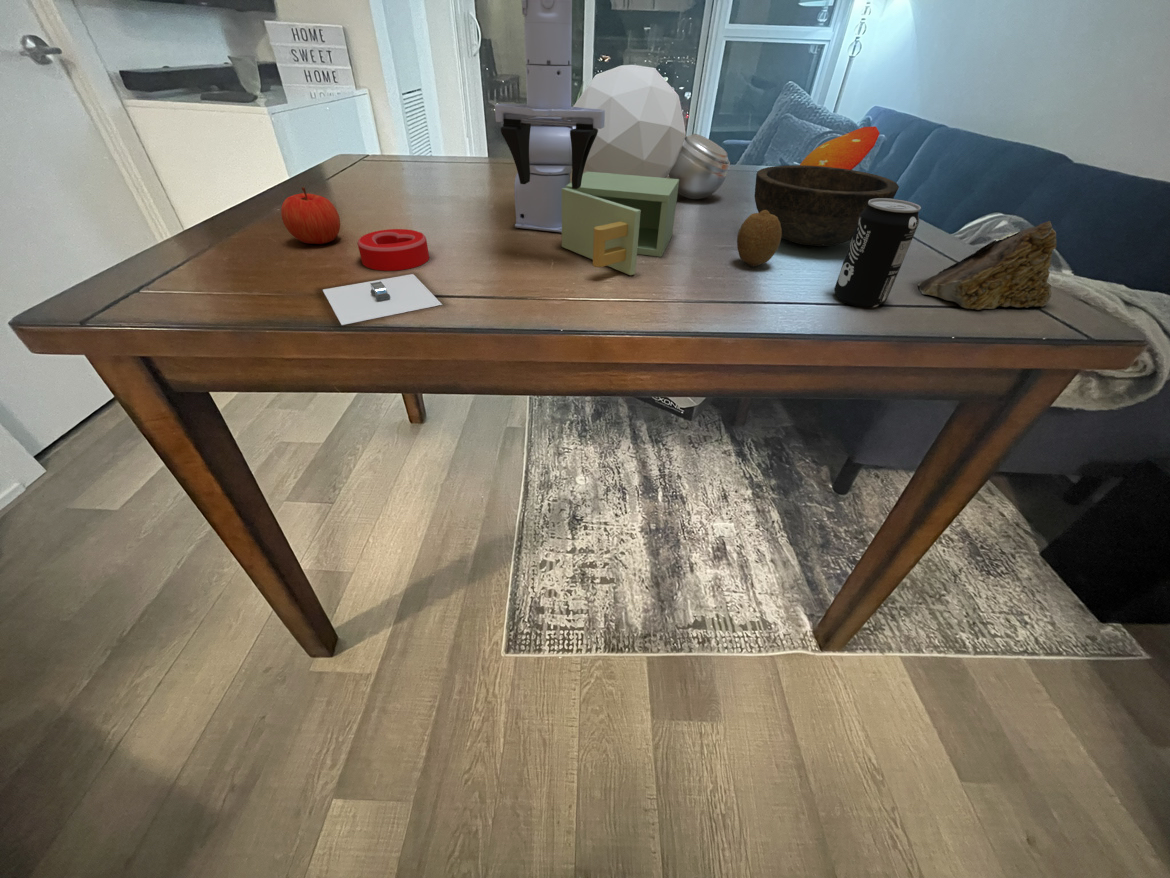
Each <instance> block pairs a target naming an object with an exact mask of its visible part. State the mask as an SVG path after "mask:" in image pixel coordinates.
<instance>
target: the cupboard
mask: <svg viewBox="0 0 1170 878" xmlns="http://www.w3.org/2000/svg"><path fill="white" fill-rule="evenodd" d="M678 186H679V179H670V178H669V177H666V178H659V177H647V176H635V175H623V174H611V173H599V172H585V173H584V174H583V176H582V181H581V187H579V188H578V189H572V181H570V183H569V184H568V185H566V188H569V189H572V190H576V191H579V192H582V193H586V194H589V195H592V196H595V197H599V198H602V199H605V200H609V201H612V202H615V203H619V204H622V205H625V206H628V207H632V208H635V209H638V210H641V213H640V224H639V236H638V247H637V255H642V256H650V257H651V256H652V257H659V258H662V257H663V255H664V254H665V251H666V249H667V247H668V245H669V242H670V241H671V239H672V238H673V237H672V236H673V231H674V225H675V217H676V209H677V202H678V201H677V200H678V194H679V193H678Z"/></svg>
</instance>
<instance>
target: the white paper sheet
mask: <svg viewBox="0 0 1170 878" xmlns="http://www.w3.org/2000/svg"><path fill="white" fill-rule="evenodd" d="M322 292H323V294H324V296H325V298H326V299H327V301H328V303H329V305H330V306H331V308H332V310H333V312H334V314H335V316H336V318H337V319H338V321H339V323H340V325H341V326H345V325H349V324H355V323H360V322H365V321H369V320H374V319H379V318H383V317H388V316H394V315H398V314H403V313H408V312H413V311H418V310H423V309H428V308H432V307H437V306H443V303H442V302H440V301H439V299H438V298H437V297H436V296H435V295H434V294H433V293H432V292H431V291H430V290H429V289H428V288H427V287H426V285H424V284H423V282H422V281H420V279H419V278H418V277H417V276H416V275H415V274H414V273H410V274H405V275H399V276H393V277H387V278H382V279H375V280H371V281H365V282H359V283H353V284H347V285H341V286H336V287H335V286H334V287H330V288H324V289H322Z"/></svg>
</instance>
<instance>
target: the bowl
mask: <svg viewBox="0 0 1170 878" xmlns="http://www.w3.org/2000/svg"><path fill="white" fill-rule="evenodd" d="M899 188H900V186H899V184H898V183H897V182H896V181H894V180H893V179H890V178H887V177H884V176H880V175H878V174H873V173H869V172H864V171H859V170H854V169H852V170H848V169H841V168H833V167H822V166H804V165H800V164H798V165H797V164H795V165H794V164H793V165H774V166H768V167H764V168H761V169H759V170H758V171H756V175H755V185H754V196H753V197H754V202H755V207H756V211H757V213H760V212H761V211H763V210H767V211H769V213H770V214H772V215H775V216H776V217H778V220H779V222H780V224H781V229H782V236H781V239H783V240H785V241H788V242H791V243H795V244H799V245H804V246H812V247H829V246H836V245H838V244H842V243H845V242H850V241H851V239H852V236H853V233H854V230H855V228H856V225H857V222H858V219H859V216H860V213H861V212H862V211H863V210H864V209H865V208H866V207H867V206H868V201H869V200H871V199H876V198H887V199H895V196H896V194H897V192H898V191H899Z"/></svg>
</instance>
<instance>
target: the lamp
mask: <svg viewBox="0 0 1170 878" xmlns="http://www.w3.org/2000/svg"><path fill="white" fill-rule="evenodd" d="M572 107H579V108H589V109H601V110H605V124H604V127H603V128H601V129H598V133H597V136H596V138H595V140H594V142H593V144H592V147H591V149H590V152H589V154H588V157H587V160H586V164H585V167H584V171H583V174H584V173H585V172H599V173H611V174H623V175H635V176H647V177H659V178H670V179H679V186H678V194H679V195H681V196H682V197H684V198H687V199H690V200H701V199H705V198H707V197H709V196H711V195H713V194H714V193H716V192H717V191H718V190H719V189H720V188H721V187H722V185H723V184H724V182H725V180H726V178H727V176H728V172H727V170H729V169H730V166H731V161H730V160H729V157H728V152H727V151H726V150H725V149H724V148H723V147H721V146H720V145H719V144H717V143H716V142H714V141H713V140H711V139H709V138H707V137H705V136H703V135H701V134H697V133H692V134H690V135H686V134H687V133H686V132H687V131H686V127H685V126H686V125H685V119H684V114H683V110H682V105H681V100H680V96H679V94H678V93H677V92H676V90H674V88H673V87H672V86H671V85H670V84H669V83H668V81H667V80H666V79H665V78H664V77H663V76H662V75H661V74H660V72H659V71H658V70H657V69H656V68H655V67H652V66H651V67H650V66H645V65H637V64H623V65H618V66H616V67H613V68H610V69H608V70H605V71H602V72H599V73H597V74H595V75H594V77H593V78H592V79H591V80H590V82H589V84H588V85H587V86H586V88H585V89H584V90H583V92H582V93H581V95H580V96H579V97H578V99H577V100H576V102H575V103H574V105H573V106H572Z"/></svg>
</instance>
